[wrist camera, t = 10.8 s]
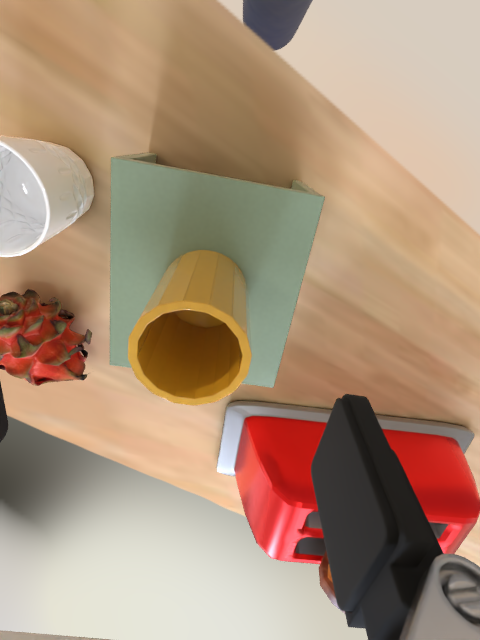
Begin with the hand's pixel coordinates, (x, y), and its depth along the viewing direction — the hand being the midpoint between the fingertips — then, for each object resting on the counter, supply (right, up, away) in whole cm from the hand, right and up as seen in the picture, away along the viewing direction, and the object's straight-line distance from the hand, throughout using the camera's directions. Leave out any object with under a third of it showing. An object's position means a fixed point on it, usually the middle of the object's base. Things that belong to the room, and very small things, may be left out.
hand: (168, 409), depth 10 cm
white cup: (-15, +15, +23) cm, 31 cm away
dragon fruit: (-18, +2, +29) cm, 35 cm away
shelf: (-1, +9, +25) cm, 27 cm away
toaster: (+15, -15, +38) cm, 43 cm away
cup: (-1, +5, +17) cm, 17 cm away
